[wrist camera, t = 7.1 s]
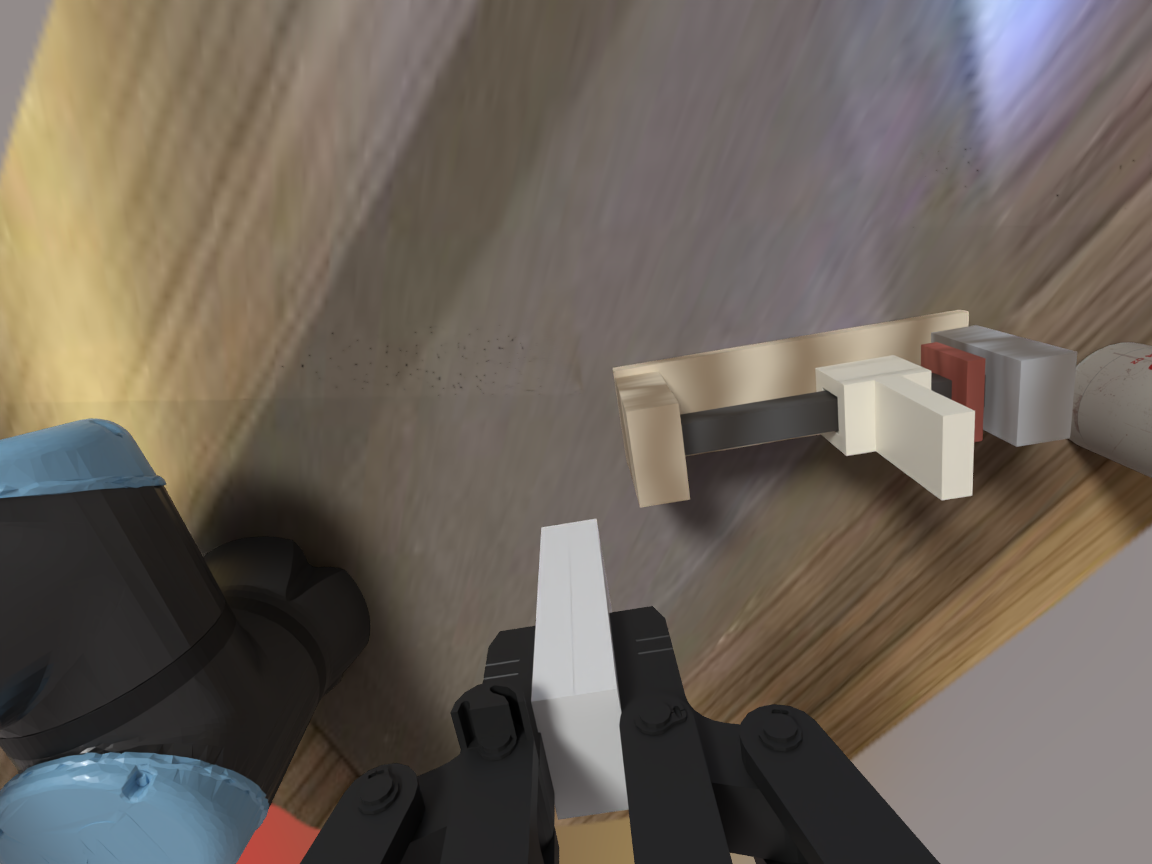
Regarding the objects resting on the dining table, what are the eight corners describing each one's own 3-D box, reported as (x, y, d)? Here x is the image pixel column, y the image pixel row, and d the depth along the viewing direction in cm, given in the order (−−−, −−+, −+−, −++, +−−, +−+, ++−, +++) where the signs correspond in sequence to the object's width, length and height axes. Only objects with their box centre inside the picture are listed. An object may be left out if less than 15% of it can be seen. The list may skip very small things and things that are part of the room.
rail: (626, 460, 47) (643, 522, 38) (612, 367, 45) (626, 408, 35) (964, 405, 46) (1068, 454, 37) (967, 308, 44) (1078, 333, 35)
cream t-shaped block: (818, 432, 43) (905, 506, 32) (815, 368, 41) (905, 422, 30) (894, 420, 43) (1008, 489, 32) (893, 354, 41) (1012, 404, 30)
